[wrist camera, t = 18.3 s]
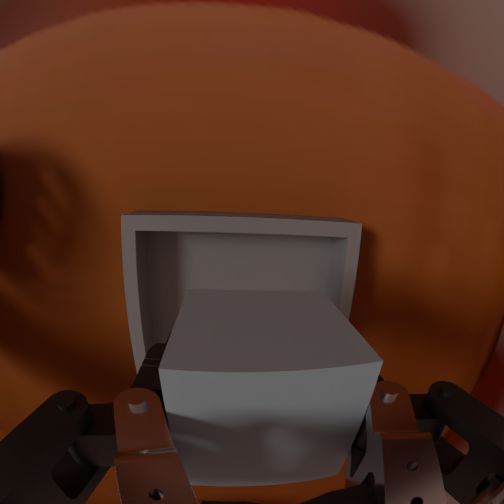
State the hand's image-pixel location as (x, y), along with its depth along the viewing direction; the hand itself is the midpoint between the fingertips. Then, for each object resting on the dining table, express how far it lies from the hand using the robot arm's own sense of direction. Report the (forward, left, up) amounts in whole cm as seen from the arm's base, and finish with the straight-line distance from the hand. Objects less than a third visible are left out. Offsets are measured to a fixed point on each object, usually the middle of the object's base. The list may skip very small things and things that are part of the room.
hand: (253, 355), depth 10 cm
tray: (0, -4, -12) cm, 12 cm away
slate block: (0, 0, 0) cm, 0 cm away
